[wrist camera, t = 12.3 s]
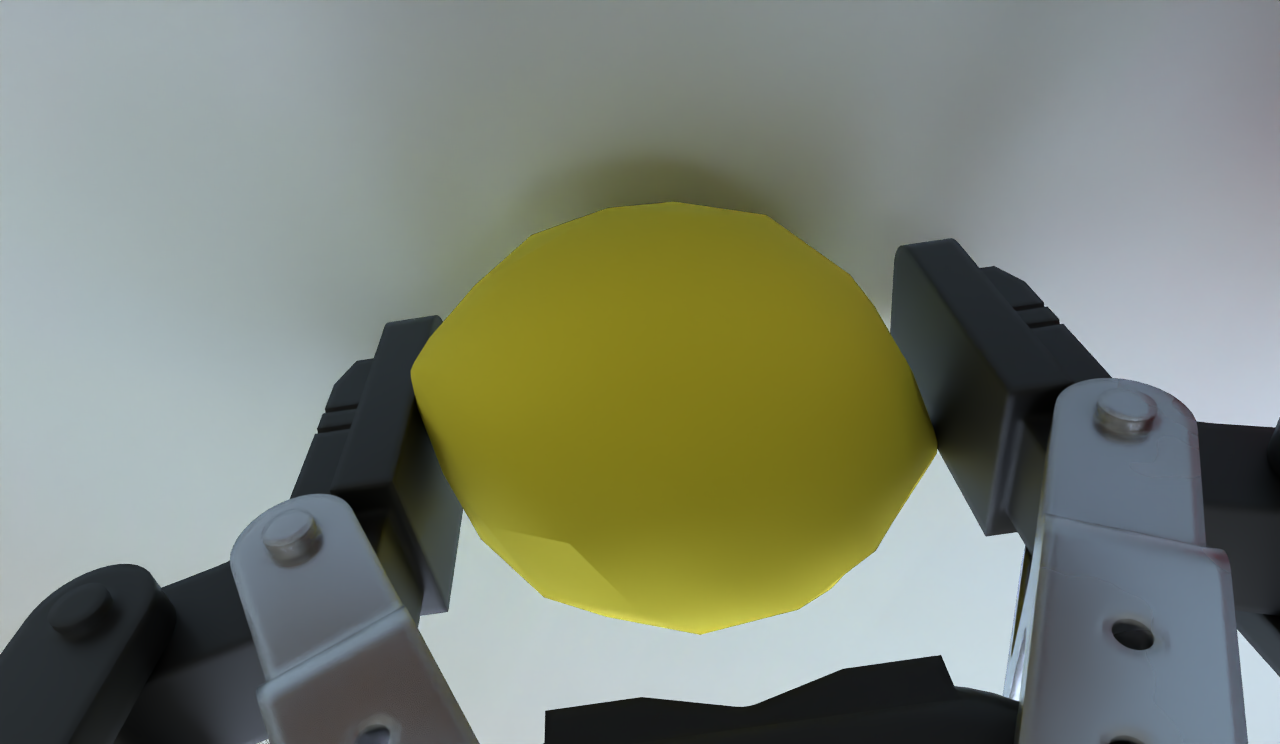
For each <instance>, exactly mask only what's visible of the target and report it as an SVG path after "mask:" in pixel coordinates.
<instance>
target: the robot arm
mask: <svg viewBox="0 0 1280 744" xmlns="http://www.w3.org/2000/svg"><path fill="white" fill-rule="evenodd" d="M442 323H443V321H442V319H441V318H440V317H439V316H438V315H434V316H428V317H421V318H415V319H408V320H402V321H395V322H389V323H387V324H386V325H385V327H384V330H383V333H382V336H381V339H380V342H379V345H378V348H377V351H376V354H375V357H374V358H373V359H367V360H360V361H356V362H355V363H354V364H353V365H352V366H351V368H350V369H349V370H348V371H347V372H346V373H345V374H344V375H343V376H342V377H341V378H340V379H339V380H338V381H337V382H336V383H335V384H334V387H333V389H332V392H331V394H330V397H329V400H328V402H327V405H326V407H325V411H326V413H324V414H323V415H322V418H321V420H320V423H319V425H318V428H317V430H318V434H315V436H314V438H313V441H312V443H311V446H310V448H309V451H308V454H307V456H306V459H305V461H304V464H303V466H302V469H301V472H300V474H299V477H298V479H297V482H296V484H295V487H294V490H293V492H292V495H291V497H290V499H289V500H287V501H284V502H282V503H280V504H278V505H276V506H274V507H272V508H270V509H268V510H267V511H265V512H264V513H262V514H261V515H259V516H258V517H257V518H256V519H255V520H253V521H252V522H251V523H250V524H249V525H248V526H247V527H246V528H245V529H244V530H243V532H242V533H241V534H240V535H239V537H238V538H237V540H236V542H235V544H234V545H233V548H232V551H231V555H230V561H228V562H226V563H224V564H221V565H219V566H217V567H214V568H212V569H209V570H206V571H204V572H201V573H199V574H196V575H193V576H191V577H188V578H186V579H183V580H180V581H178V582H175V583H173V584H170V585H167V586H165V587H162V588H161V587H160V586H159V585H158V583H157V582H156V580H155V579H154V578H153V576H152V575H151V574H150V572H149V571H147V570H146V569H145V568H143V567H140V566H138V565H132V564H117V565H110V566H106V567H102V568H99V569H96V570H93V571H91V572H88V573H86V574H84V575H81V576H79V577H77V578H75V579H73V580H72V581H70V582H68V583H67V584H65V585H63V586H62V587H60V588H59V589H58V590H56V591H55V592H53V593H52V594H51V595H50V596H48V597H47V598H46V599H45V600H44V601H42V602H41V603H40V604H39V605H38V606H37V607H36V608H35V609H34V610H33V612H32V613H31V614H30V615H29V616H28V618H27V619H26V620H25V621H24V623H23V624H22V626H21V627H20V628H19V630H18V631H17V632H16V634H15V635H14V637H13V638H12V639H11V641H10V642H9V643H8V645H7V646H6V648H5V649H4V650H3V652H2V653H1V654H0V744H257V743H259V742H261V741H264V740H266V739H269V742H270V744H479V742H478V740H477V738H476V736H475V734H474V733H473V731H472V729H471V727H470V725H469V723H468V721H467V719H466V718H465V716H464V714H463V712H462V710H461V708H460V706H459V704H458V703H457V701H456V699H455V697H454V695H453V693H452V691H451V690H450V688H449V686H448V684H447V682H446V680H445V678H444V676H443V675H442V673H441V671H440V669H439V667H438V665H437V663H436V662H435V660H434V658H433V656H432V654H431V652H430V650H429V648H428V647H427V645H426V643H425V641H424V639H423V637H422V635H421V633H420V632H419V630H418V624H419V618H420V616H422V615H429V614H436V613H443V612H448V609H449V602H450V595H451V588H452V581H453V574H454V567H455V561H456V554H457V547H458V540H459V533H460V526H461V519H462V513H463V507H462V505H461V504H460V502H459V500H458V498H457V497H456V495H455V493H454V491H453V490H452V488H451V486H450V484H449V483H448V481H447V479H446V477H445V476H444V474H443V472H442V469H441V467H440V464H439V461H438V459H437V456H436V454H435V451H434V449H433V446H432V444H431V441H430V438H429V436H428V433H427V431H426V428H425V426H424V423H423V421H422V418H421V415H420V413H419V410H418V408H417V403H416V399H415V394H414V390H413V385H412V380H411V369H412V366H413V364H414V362H415V360H416V359H417V357H418V355H419V354H420V352H421V351H422V349H423V347H424V346H425V344H426V343H427V341H428V339H429V338H430V337H431V336H432V334H433V333H434V332H435V331H436V330H437V329H438V327H439V326H440V325H441V324H442ZM890 334H891V336H892V337H893V339H894V341H895V343H896V344H897V346H898V348H899V349H900V351H901V353H902V354H903V356H904V358H905V359H906V361H907V363H908V365H909V366H910V368H911V370H912V372H913V375H914V377H915V380H916V383H917V385H918V388H919V391H920V393H921V396H922V399H923V401H924V404H925V407H926V409H927V412H928V415H929V418H930V420H931V423H932V426H933V428H934V431H935V435H936V439H937V442H938V446H937V449H938V450H939V452H940V454H941V456H942V458H943V460H944V461H945V463H946V465H947V467H948V469H949V470H950V472H951V474H952V476H953V478H954V480H955V481H956V483H957V485H958V487H959V489H960V490H961V492H962V494H963V496H964V498H965V500H966V501H967V503H968V505H969V507H970V509H971V510H972V512H973V514H974V516H975V518H976V520H977V521H978V523H979V525H980V527H981V529H982V530H983V532H984V534H985V536H992V535H999V534H1006V533H1013V532H1018V533H1019V535H1020V537H1021V538H1022V540H1023V542H1024V543H1025V549H1024V554H1023V559H1022V564H1021V570H1020V577H1019V584H1018V592H1017V599H1016V606H1015V613H1014V620H1013V628H1012V635H1011V642H1010V649H1009V657H1008V664H1007V671H1006V678H1005V684H1004V690H1003V696H1001V695H998V694H995V693H991V692H986V691H981V690H976V689H972V688H966V687H957V686H954V685H953V682H952V680H951V678H950V675H949V673H948V671H947V668H946V666H945V663H944V661H943V659H942V656H941V655H939V656H931V657H924V658H917V659H910V660H903V661H896V662H889V663H882V664H875V665H867V666H860V667H853V668H846V669H842V670H839V671H837V672H834V673H832V674H829V675H827V676H824V677H822V678H819V679H817V680H815V681H812V682H810V683H807V684H805V685H802V686H800V687H797V688H795V689H792V690H790V691H787V692H785V693H783V694H780V695H778V696H775V697H773V698H770V699H768V700H765V701H763V702H760V703H758V704H755V705H752V706H746V707H732V706H723V705H713V704H703V703H693V702H683V701H674V700H664V699H654V698H644V697H640V698H633V699H626V700H619V701H612V702H605V703H597V704H590V705H583V706H576V707H569V708H562V709H555V710H548V711H545V743H543V744H1248V738H1247V728H1246V718H1245V708H1244V698H1243V688H1242V678H1241V668H1240V657H1239V647H1238V637H1237V629H1238V631H1239V632H1240V633H1241V634H1242V635H1243V636H1244V637H1245V638H1246V640H1247V641H1248V642H1249V643H1250V644H1251V645H1252V646H1253V647H1254V649H1255V650H1256V651H1257V652H1258V653H1259V654H1260V655H1261V656H1262V658H1263V659H1264V660H1265V661H1266V662H1267V663H1268V664H1269V665H1270V667H1271V668H1272V669H1273V670H1274V671H1275V672H1276V673H1277V674H1278V676H1279V677H1280V418H1279V421H1278V423H1277V425H1276V428H1273V427H1258V426H1244V425H1229V424H1214V423H1205V422H1197V421H1196V420H1195V418H1194V416H1193V414H1192V412H1191V411H1190V410H1189V409H1188V408H1187V407H1186V406H1185V405H1184V404H1183V403H1182V402H1181V401H1179V400H1178V399H1177V398H1175V397H1174V396H1172V395H1170V394H1169V393H1167V392H1165V391H1163V390H1161V389H1158V388H1156V387H1153V386H1151V385H1148V384H1144V383H1141V382H1137V381H1132V380H1126V379H1117V378H1112V377H1111V376H1110V375H1109V374H1108V373H1107V372H1106V370H1105V369H1104V368H1103V367H1102V366H1101V365H1100V364H1099V363H1098V362H1097V361H1096V359H1095V358H1094V357H1093V356H1092V355H1091V354H1090V353H1089V352H1088V351H1087V350H1086V348H1085V347H1084V346H1083V345H1082V344H1081V343H1080V342H1079V341H1078V340H1077V339H1076V337H1075V336H1074V335H1073V334H1072V333H1071V332H1070V331H1069V330H1068V329H1067V328H1066V326H1065V325H1064V324H1060V323H1059V319H1058V318H1057V316H1056V315H1055V314H1054V313H1053V312H1052V311H1051V310H1050V309H1049V308H1048V307H1044V302H1043V301H1042V300H1041V299H1040V298H1039V297H1038V296H1037V294H1036V293H1035V292H1034V291H1033V290H1032V289H1031V288H1030V287H1029V286H1028V285H1027V283H1026V282H1024V281H1022V280H1020V279H1018V278H1016V277H1015V276H1013V275H1011V274H1009V273H1007V272H1005V271H1003V270H1001V269H999V268H997V267H995V266H991V267H985V268H979V267H978V266H977V265H976V263H975V262H974V261H973V260H972V259H971V257H970V256H969V255H968V254H967V253H966V251H965V250H964V249H963V248H962V247H961V246H960V244H959V243H958V242H957V241H956V240H955V239H953V238H949V239H943V240H936V241H929V242H923V243H916V244H910V245H903V246H900V247H899V248H898V249H897V251H896V255H895V260H894V275H893V293H892V311H891V329H890Z"/></svg>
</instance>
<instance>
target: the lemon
mask: <svg viewBox="0 0 1280 744" xmlns="http://www.w3.org/2000/svg"><path fill="white" fill-rule="evenodd" d="M411 380H412V385H413V390H414V394H415V399H416V403H417V408H418V410H419V413H420V415H421V418H422V421H423V423H424V426H425V428H426V431H427V433H428V436H429V438H430V441H431V444H432V446H433V449H434V451H435V454H436V456H437V459H438V461H439V464H440V467H441V469H442V472H443V474H444V476H445V477H446V479H447V481H448V483H449V484H450V486H451V488H452V490H453V491H454V493H455V495H456V497H457V498H458V500H459V502H460V504H461V505H462V507H463V509H464V511H465V512H466V514H467V516H468V517H469V519H470V521H471V523H472V524H473V526H474V528H475V530H476V531H477V533H478V535H479V537H480V538H481V540H482V541H484V542H485V543H486V544H487V545H488V546H489V547H490V548H491V549H492V550H493V551H494V552H495V553H497V554H498V555H499V556H500V557H501V558H502V559H503V560H504V561H505V562H506V563H507V564H509V565H510V566H511V567H512V568H513V569H514V570H515V571H516V572H517V573H518V574H519V575H520V576H522V577H523V578H524V579H525V580H526V581H527V582H528V583H529V584H530V585H531V586H532V587H533V588H535V589H536V590H537V591H538V592H539V593H540V594H541V595H542V596H543V597H545V598H548V599H551V600H554V601H558V602H561V603H564V604H567V605H570V606H574V607H577V608H580V609H583V610H587V611H590V612H593V613H596V614H599V615H603V616H606V617H610V618H616V619H621V620H626V621H631V622H637V623H642V624H647V625H652V626H657V627H663V628H668V629H673V630H678V631H684V632H689V633H694V634H699V635H701V634H705V633H709V632H712V631H716V630H720V629H724V628H728V627H732V626H736V625H740V624H744V623H748V622H752V621H755V620H759V619H763V618H767V617H771V616H775V615H779V614H783V613H787V612H791V611H795V610H798V609H800V608H802V607H803V606H805V605H806V604H808V603H809V602H811V601H813V600H814V599H816V598H817V597H819V596H820V595H822V594H824V593H825V592H827V591H828V590H830V589H831V588H832V587H833V586H834V585H835V584H836V583H837V582H838V581H839V580H840V579H841V578H842V577H843V576H844V575H845V574H846V573H847V572H848V571H850V570H851V569H852V568H853V567H855V566H856V565H857V564H859V563H860V562H861V561H863V560H864V559H865V558H867V557H868V556H869V555H871V554H872V553H873V552H874V551H876V549H877V548H878V546H879V544H880V543H881V541H882V539H883V538H884V536H885V534H886V533H887V531H888V529H889V527H890V526H891V524H892V522H893V521H894V519H895V518H896V516H897V515H898V513H899V512H900V510H901V508H902V507H903V505H904V504H905V502H906V501H907V499H908V498H909V496H910V494H911V493H912V491H913V490H914V488H915V487H916V485H917V484H918V482H919V481H920V479H921V477H922V476H923V474H924V473H925V471H926V470H927V468H928V467H929V465H930V464H931V462H932V460H933V459H934V457H935V455H936V454H937V446H938V442H937V439H936V435H935V431H934V428H933V426H932V423H931V420H930V418H929V415H928V412H927V409H926V407H925V404H924V401H923V399H922V396H921V393H920V391H919V388H918V385H917V383H916V380H915V377H914V375H913V372H912V370H911V368H910V366H909V365H908V363H907V361H906V359H905V358H904V356H903V354H902V353H901V351H900V349H899V348H898V346H897V344H896V343H895V341H894V339H893V337H892V336H891V334H890V332H889V331H888V329H887V327H886V325H885V324H884V322H883V320H882V318H881V317H880V315H879V313H878V312H877V310H876V308H875V306H874V305H873V304H872V302H871V301H870V300H869V299H868V297H867V296H866V295H865V293H864V292H863V291H862V290H861V288H860V287H859V286H858V284H857V283H856V282H855V281H854V279H853V278H852V277H851V275H850V274H848V273H847V272H846V271H844V270H843V269H841V268H840V267H839V266H837V265H836V264H834V263H833V262H832V261H830V260H829V259H827V258H826V257H825V256H823V255H822V254H820V253H819V252H818V251H816V250H815V249H813V248H812V247H811V246H809V245H808V244H806V243H805V242H804V241H802V240H801V239H799V238H798V237H797V236H795V235H794V234H792V233H791V232H790V231H788V230H787V229H785V228H784V227H783V226H781V225H780V224H778V223H777V222H776V221H774V220H773V219H771V218H770V217H769V216H767V215H764V214H757V213H750V212H743V211H736V210H729V209H723V208H716V207H709V206H702V205H695V204H688V203H681V202H664V203H653V204H643V205H632V206H622V207H611V208H606V209H603V210H600V211H598V212H595V213H592V214H589V215H586V216H584V217H581V218H578V219H575V220H572V221H569V222H567V223H564V224H561V225H558V226H555V227H552V228H550V229H547V230H544V231H541V232H538V233H536V234H533V235H531V236H530V237H529V238H528V239H526V240H525V241H524V242H523V243H522V244H521V245H520V246H519V247H517V248H516V249H515V250H514V251H513V252H512V253H511V254H509V255H508V256H507V257H506V258H505V259H504V260H503V261H502V262H500V263H499V264H498V265H497V266H496V267H495V268H494V269H493V270H491V271H490V272H489V273H488V274H487V275H486V276H485V277H483V278H482V279H481V280H480V281H479V282H478V283H477V284H476V285H475V286H474V287H473V288H472V289H471V290H470V291H469V293H468V294H467V295H466V296H465V297H464V298H463V300H462V301H461V302H460V303H459V304H458V305H457V306H456V308H455V309H454V310H453V311H452V312H451V313H450V315H449V316H448V317H447V318H446V319H445V320H444V322H443V323H442V324H441V325H440V326H439V327H438V329H437V330H436V331H435V332H434V333H433V334H432V336H431V337H430V338H429V339H428V341H427V343H426V344H425V346H424V347H423V349H422V351H421V352H420V354H419V355H418V357H417V359H416V360H415V362H414V364H413V366H412V369H411Z"/></svg>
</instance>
